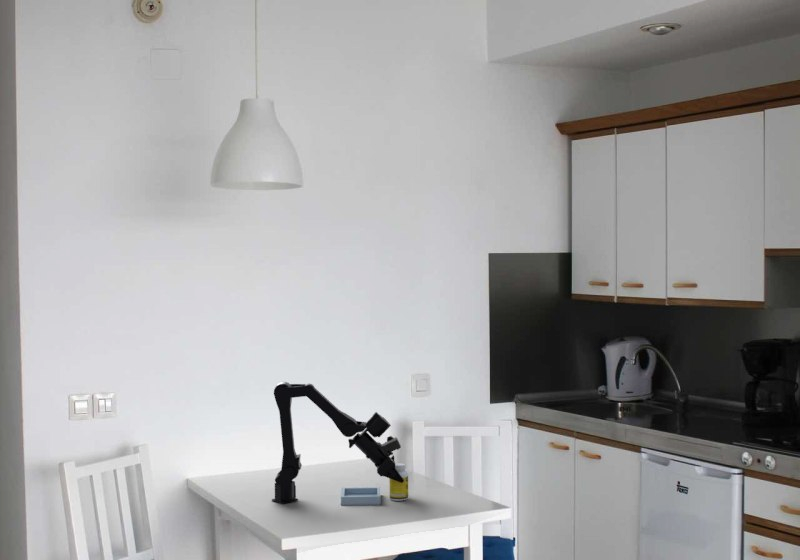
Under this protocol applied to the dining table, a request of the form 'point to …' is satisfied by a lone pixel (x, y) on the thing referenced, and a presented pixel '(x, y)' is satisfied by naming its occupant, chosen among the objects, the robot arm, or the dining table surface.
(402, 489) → the pill bottle
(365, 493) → the dish
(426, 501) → the dining table surface
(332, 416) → the robot arm
